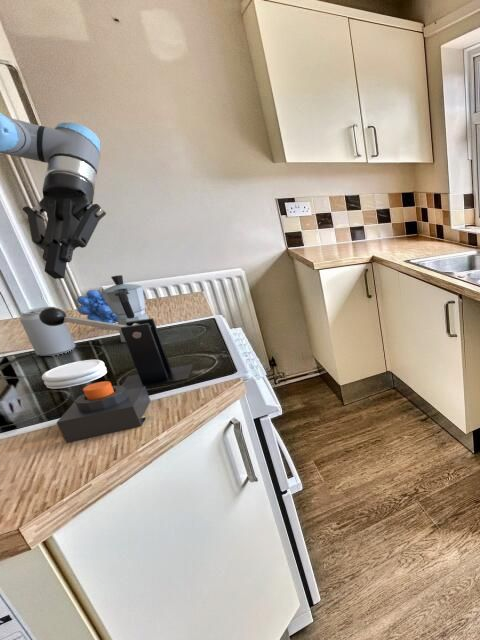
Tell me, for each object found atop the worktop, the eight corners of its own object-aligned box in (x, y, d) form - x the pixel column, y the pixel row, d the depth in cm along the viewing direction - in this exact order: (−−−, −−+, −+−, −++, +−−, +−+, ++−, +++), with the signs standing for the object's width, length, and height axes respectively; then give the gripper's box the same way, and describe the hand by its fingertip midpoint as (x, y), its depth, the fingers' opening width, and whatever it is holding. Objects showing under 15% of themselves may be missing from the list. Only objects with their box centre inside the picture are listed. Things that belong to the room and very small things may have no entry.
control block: (66, 443, 71) (51, 412, 69) (85, 419, 78) (72, 390, 76) (141, 426, 75) (129, 397, 73) (152, 405, 83) (141, 377, 81)
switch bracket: (118, 397, 86) (92, 334, 81) (130, 380, 94) (106, 322, 89) (189, 383, 92) (168, 323, 87) (194, 368, 99) (176, 312, 94)
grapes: (86, 334, 125) (69, 295, 121) (86, 329, 130) (70, 291, 125) (136, 324, 133) (122, 287, 128) (135, 320, 137) (121, 284, 133)
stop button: (84, 402, 73) (79, 392, 72) (91, 394, 76) (86, 384, 75) (111, 397, 74) (106, 387, 74) (117, 389, 77) (112, 379, 76)
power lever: (34, 326, 79) (37, 308, 78) (42, 321, 82) (45, 303, 81) (145, 342, 88) (148, 326, 87) (149, 337, 91) (152, 322, 90)
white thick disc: (105, 368, 100) (99, 355, 99) (112, 380, 94) (106, 366, 93) (45, 384, 93) (38, 369, 92) (49, 397, 87) (42, 382, 86)
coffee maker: (119, 335, 123) (95, 274, 117) (157, 328, 128) (136, 270, 122) (119, 349, 113) (93, 283, 106) (160, 340, 118) (138, 277, 111)
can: (40, 352, 112) (19, 309, 108) (78, 345, 117) (60, 303, 112) (35, 360, 107) (13, 315, 102) (75, 352, 111) (56, 309, 107)
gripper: (117, 195, 97) (107, 281, 88) (45, 198, 93) (27, 288, 84) (96, 170, 90) (82, 260, 82) (17, 171, 86) (-6, 266, 78)
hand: (54, 274), depth 83 cm, fingers closed
